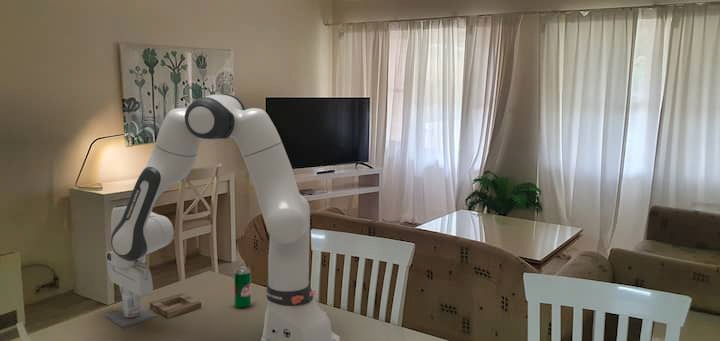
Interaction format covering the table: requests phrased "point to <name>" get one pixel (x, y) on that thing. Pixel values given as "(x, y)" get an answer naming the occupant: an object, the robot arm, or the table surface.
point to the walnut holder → (168, 312)
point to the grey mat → (128, 321)
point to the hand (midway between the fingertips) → (131, 302)
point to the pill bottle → (129, 304)
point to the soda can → (242, 287)
